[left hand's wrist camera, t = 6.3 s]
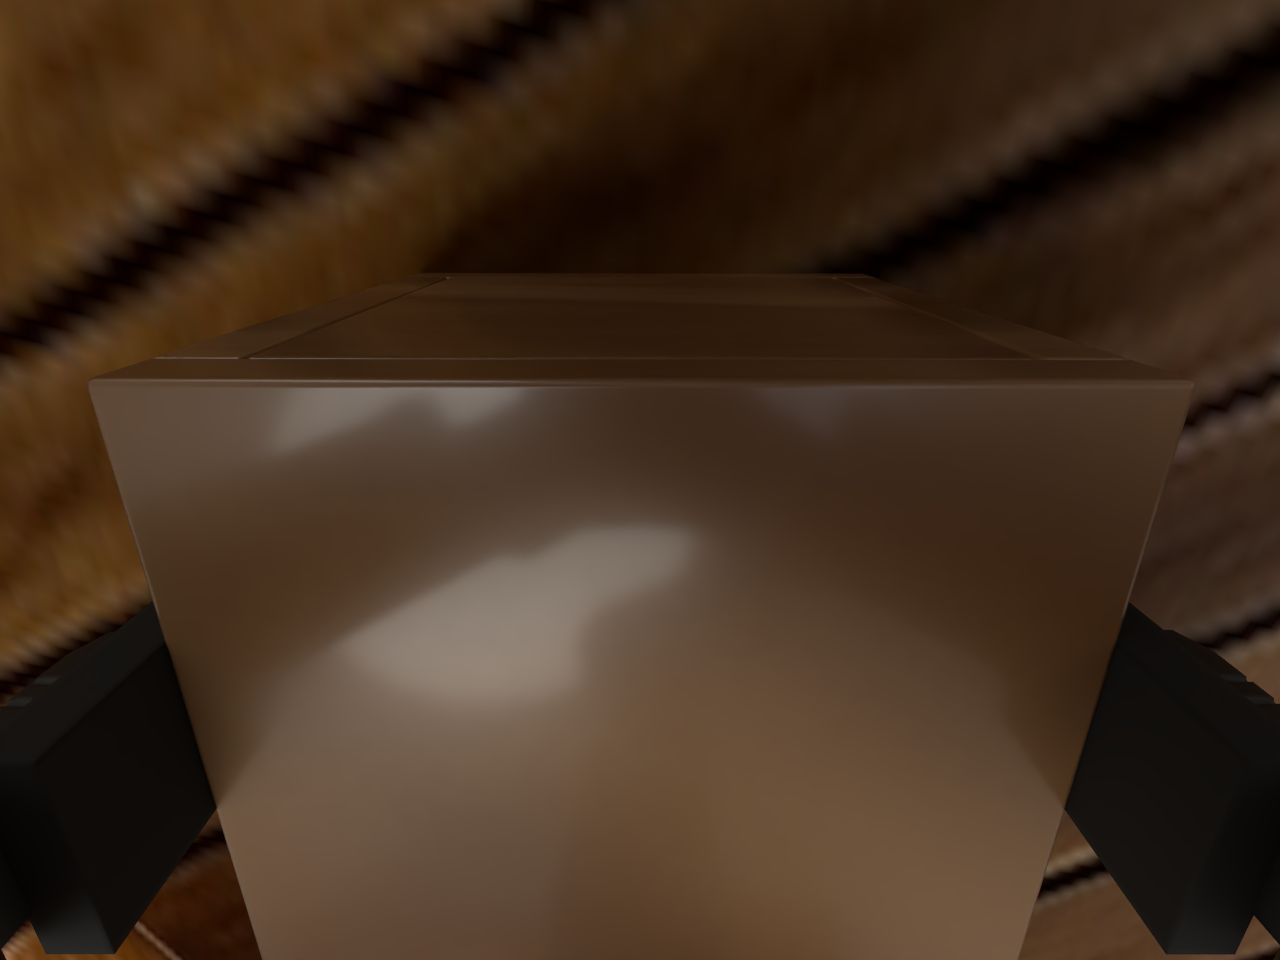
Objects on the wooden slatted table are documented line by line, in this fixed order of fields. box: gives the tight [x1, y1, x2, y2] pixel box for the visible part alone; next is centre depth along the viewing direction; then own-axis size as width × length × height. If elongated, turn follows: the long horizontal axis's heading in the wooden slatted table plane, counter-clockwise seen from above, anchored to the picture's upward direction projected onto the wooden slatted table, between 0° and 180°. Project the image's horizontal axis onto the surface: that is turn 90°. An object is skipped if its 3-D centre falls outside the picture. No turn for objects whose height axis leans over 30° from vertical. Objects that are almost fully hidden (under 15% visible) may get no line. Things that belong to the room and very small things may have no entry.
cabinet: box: [88, 273, 1195, 960], centre depth 16 cm, size 22×12×12 cm, turn 0°
